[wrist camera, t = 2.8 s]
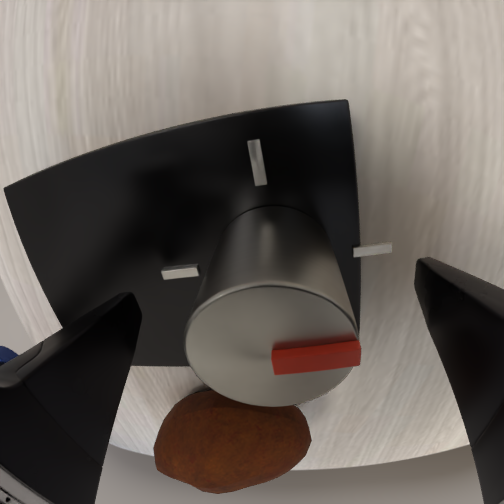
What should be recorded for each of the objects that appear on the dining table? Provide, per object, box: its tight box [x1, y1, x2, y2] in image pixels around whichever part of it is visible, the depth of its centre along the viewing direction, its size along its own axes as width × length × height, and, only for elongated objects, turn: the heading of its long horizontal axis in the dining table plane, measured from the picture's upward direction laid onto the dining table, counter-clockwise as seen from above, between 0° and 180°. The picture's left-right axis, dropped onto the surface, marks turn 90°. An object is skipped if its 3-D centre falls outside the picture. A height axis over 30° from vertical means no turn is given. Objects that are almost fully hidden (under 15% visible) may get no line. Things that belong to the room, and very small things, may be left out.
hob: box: [4, 99, 392, 366], centre depth 12 cm, size 15×10×3 cm, turn 100°
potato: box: [154, 390, 312, 494], centre depth 15 cm, size 7×9×6 cm
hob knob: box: [183, 206, 361, 407], centre depth 9 cm, size 4×4×5 cm
